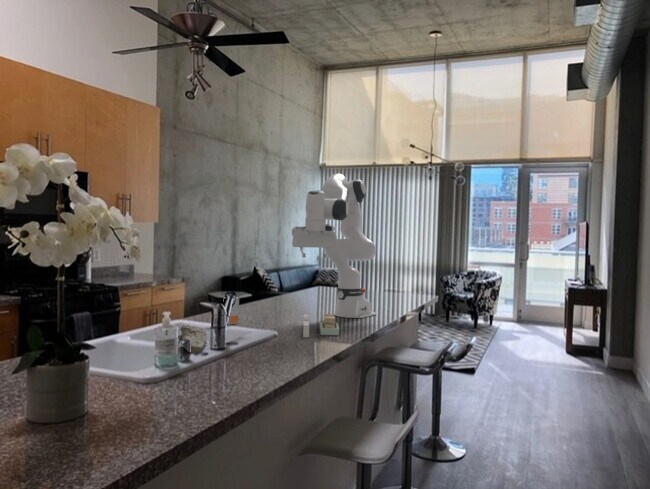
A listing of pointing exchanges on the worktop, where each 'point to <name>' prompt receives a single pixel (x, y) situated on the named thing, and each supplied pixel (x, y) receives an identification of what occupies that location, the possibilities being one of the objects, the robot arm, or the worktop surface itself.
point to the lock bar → (329, 321)
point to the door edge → (306, 326)
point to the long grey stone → (194, 337)
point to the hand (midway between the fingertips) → (314, 257)
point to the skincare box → (234, 312)
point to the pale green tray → (329, 329)
